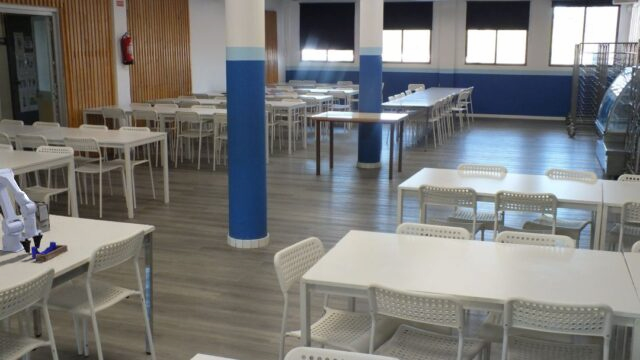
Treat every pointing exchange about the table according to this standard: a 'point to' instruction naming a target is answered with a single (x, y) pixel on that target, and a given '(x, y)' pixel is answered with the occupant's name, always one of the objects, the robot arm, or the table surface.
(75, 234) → the table surface
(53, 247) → the blue notched arch
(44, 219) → the coffee box
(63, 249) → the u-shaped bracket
